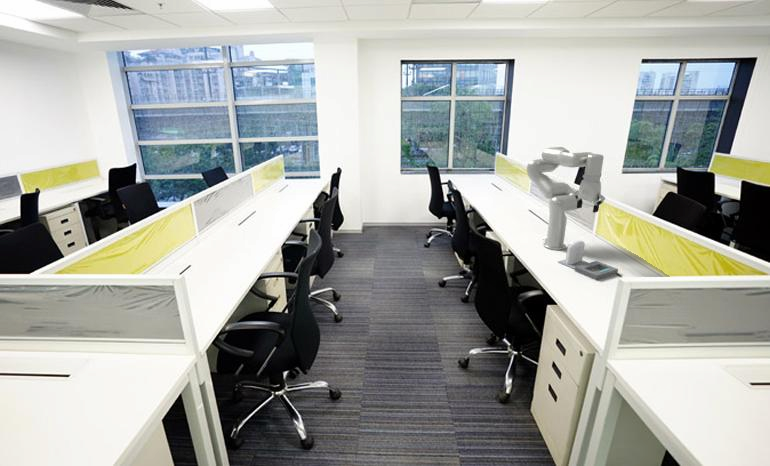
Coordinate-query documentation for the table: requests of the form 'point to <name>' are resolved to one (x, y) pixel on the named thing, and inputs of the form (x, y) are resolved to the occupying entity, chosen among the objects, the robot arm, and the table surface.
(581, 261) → the rubber mat
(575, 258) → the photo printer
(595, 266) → the charging dock
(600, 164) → the robot arm
